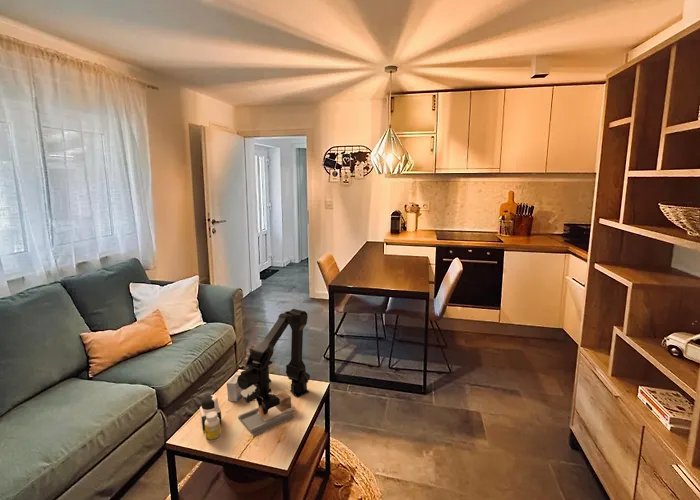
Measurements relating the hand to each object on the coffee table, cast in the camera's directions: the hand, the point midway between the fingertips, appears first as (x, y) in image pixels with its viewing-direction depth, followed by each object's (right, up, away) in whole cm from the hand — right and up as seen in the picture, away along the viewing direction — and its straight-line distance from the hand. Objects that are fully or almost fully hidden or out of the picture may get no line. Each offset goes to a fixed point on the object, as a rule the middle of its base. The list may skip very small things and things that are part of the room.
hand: (263, 412), depth 154 cm
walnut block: (+7, 0, +6) cm, 9 cm away
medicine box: (-16, 0, +17) cm, 23 cm away
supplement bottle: (-17, -5, -10) cm, 20 cm away
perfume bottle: (-11, +2, +29) cm, 31 cm away
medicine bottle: (-20, -4, -3) cm, 21 cm away
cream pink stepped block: (+4, -1, +4) cm, 6 cm away
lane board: (+1, -3, +1) cm, 3 cm away
